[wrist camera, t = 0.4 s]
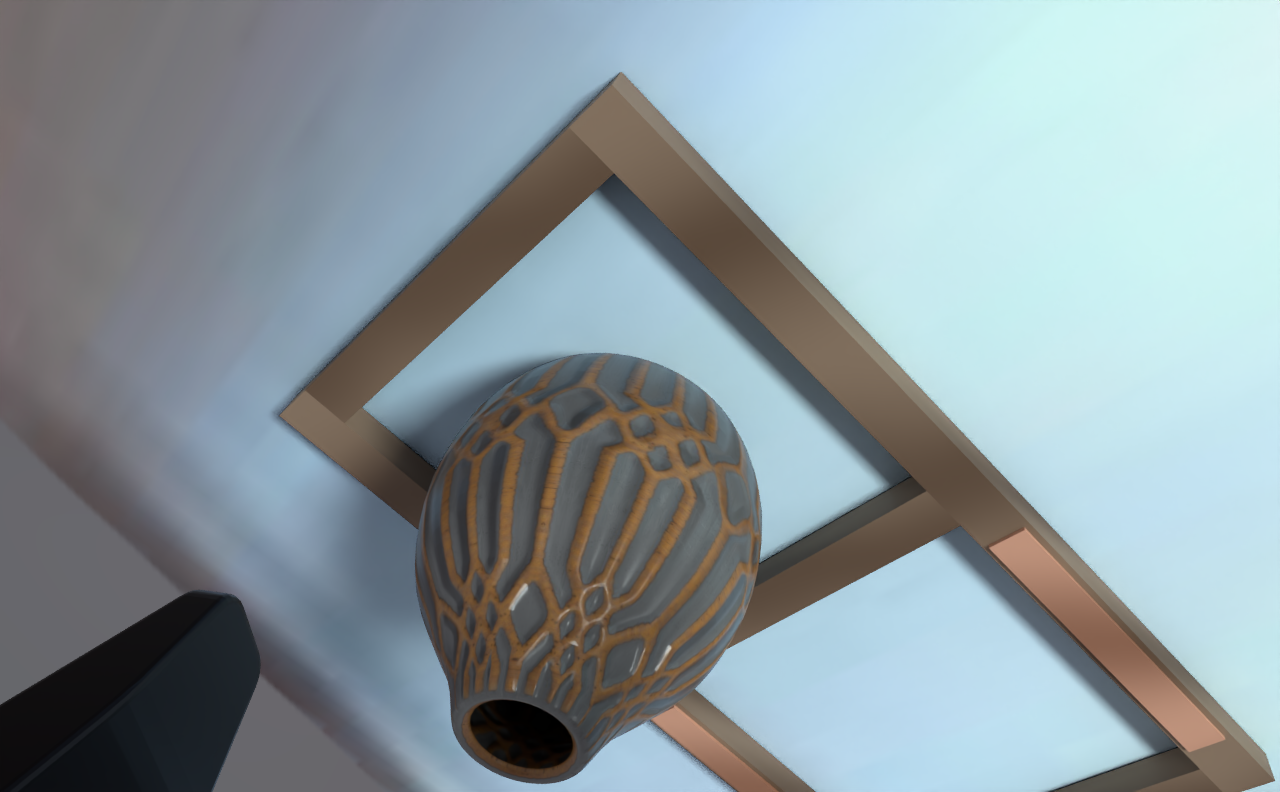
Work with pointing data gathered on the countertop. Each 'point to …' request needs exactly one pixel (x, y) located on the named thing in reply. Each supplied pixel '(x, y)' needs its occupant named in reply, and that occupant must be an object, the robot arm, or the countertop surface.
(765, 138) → the countertop surface
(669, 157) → the rail frame
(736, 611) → the vase
